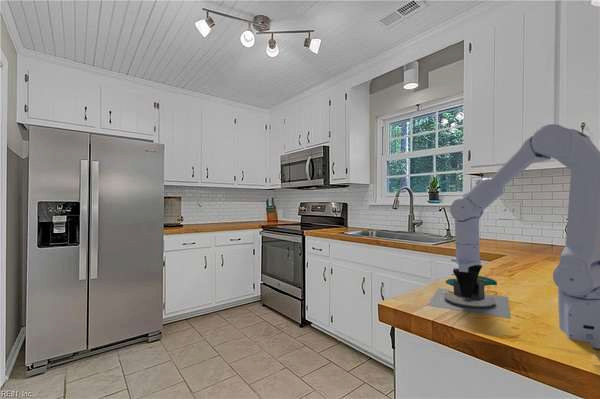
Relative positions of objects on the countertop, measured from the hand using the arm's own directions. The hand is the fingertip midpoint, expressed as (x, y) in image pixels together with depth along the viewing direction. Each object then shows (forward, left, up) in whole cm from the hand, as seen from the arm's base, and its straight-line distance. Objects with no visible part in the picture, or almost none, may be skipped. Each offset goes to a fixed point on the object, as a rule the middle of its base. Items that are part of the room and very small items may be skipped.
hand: (468, 293), depth 82 cm
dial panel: (0, 0, -3) cm, 3 cm away
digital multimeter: (+20, +1, -4) cm, 21 cm away
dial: (0, 0, -2) cm, 2 cm away
